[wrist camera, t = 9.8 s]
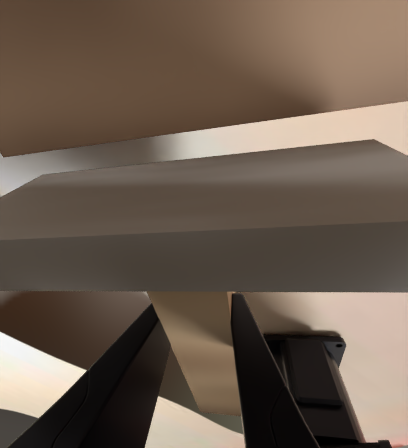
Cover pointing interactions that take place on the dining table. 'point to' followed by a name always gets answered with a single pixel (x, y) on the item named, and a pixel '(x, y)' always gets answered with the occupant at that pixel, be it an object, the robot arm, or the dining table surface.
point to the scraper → (214, 239)
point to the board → (189, 65)
